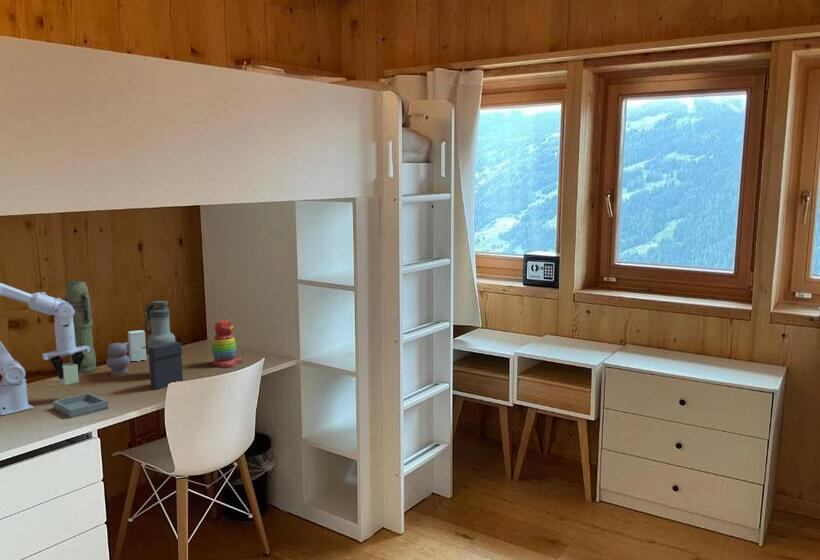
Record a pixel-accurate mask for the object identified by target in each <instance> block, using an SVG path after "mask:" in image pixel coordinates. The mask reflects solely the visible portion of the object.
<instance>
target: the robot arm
mask: <svg viewBox="0 0 820 560" xmlns="http://www.w3.org/2000/svg"><path fill="white" fill-rule="evenodd" d="M0 296H2V297H6V298H9V299H12V300H16V301H19V302H22V303H24V304H25V303H26V304H27V305H28V307H29V309H31V310H33V311H37V312H40V313H43V314H46V315H48V316H51V315H52V316H54V335H55V344H56V345H55V346H56V350H52V351H49V352H44V353H42V360H44V361H48V360H49V361H50V363H51V364H52V365H53V367H54V369H55V371H56V373H57V374H56V375H57V377H58V379H59V378H60V379H63V370H62V364H64V363H63V362H64V360H63V359H62V357H66V356H70V355H71V356H72V360H73V363H75V364H77V365H78V376H79V375H80V374H79V370H80V366H81V363H82V361H83V359H84V354H83V352H90V346H80V347H76V344H75V332H74V323H73V315H74V313H75V310H74V308H73V306H72V305H71V304H69V303H68V302H66V300H64V299H61V298H60V297H53V296H50V295H47V293H46V292H44V291H41V292H38V291H37V292H36V291H35V292H34V293H29V292H26V291H24V290H22V289H18V288H17V287H13V286H10V285H8V284H5V283H2V282H0ZM0 376H2V379H1V380H0V416H4V415H5V416H6V415H10V414H13V413H17V412H22V411H27V410H30V409H34V406H33V405H31V404H29V397H28V388H27V387H28V386H27V379H26V378H25V377H26V370H25V368H24V367H23V366H22V364H21V363H20V362H19V361H18V360H17V359H14V358H13V357H12V355H11V354H10V353H9V351H8V349H7V348H6V347H5V345H4V344H3V343H2V341H1V340H0Z"/></svg>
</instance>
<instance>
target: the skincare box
mask: <svg viewBox="0 0 820 560" xmlns="http://www.w3.org/2000/svg"><path fill="white" fill-rule="evenodd" d="M127 340H128V341H127V342H128V344H127V346H128V357H129V358H130V362H131V361H137V362H142V361H141V360H145V361H147V346H146V343H147V342H146V333H145V331H144V330H143V329H139V330H131V331H130V330H129V331H127Z"/></svg>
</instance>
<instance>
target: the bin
mask: <svg viewBox="0 0 820 560" xmlns="http://www.w3.org/2000/svg"><path fill="white" fill-rule="evenodd" d="M52 404H53V409H54V410H55V409H57V410H58V411H57V410H56V411H57V412H59V411H60V412H59V413H61V412H62V413H61V414H63V413H64V414H63V415H65V416H67V417H68V416H69V418H70V417H71V418H70V419H73V418H77V417H80V416H84V415H85V416H86V415H88V414H91V413H95V412H100V411H104V410H107V409H109V401H108V400H107V399H105V398H103V397H100V396H97V395H95V394H93V393H91V392H86V393H82V394H79V395H74V396H69V397H66V398H61V399H57V400H53V403H52ZM76 416H77V417H76ZM72 417H73V418H72Z"/></svg>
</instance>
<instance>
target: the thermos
mask: <svg viewBox="0 0 820 560" xmlns="http://www.w3.org/2000/svg"><path fill="white" fill-rule="evenodd" d="M65 288H66V289H65V297H64V298H65V300H64V301H66V302H68V303H69V304H71V305H72V306H73V308H74V310H75V313H74V315H73V323H74V332H75V344H76V347H80V346H90V352H83V354H84V359H83V361H82V363H81V366H80V370H79V373H81V374H85V373H84V372H88V373H91V372H90V371H92V372H94V371H93V370H95V369H96V370H97V366H96V365H97V364H96V363H97V357H96V351H95V349H94V340H93V339H94V338H93V328H92V327H93V312H92V303H91V302H92V300H91V296H90V294H89V288H88V286H87V283H86V281H84V280H81V279H80V280H79V279H78V280H71V281H69V282H67V285H66V287H65ZM71 362H72V363H73V360H72V356H71V355H69V363H71ZM96 370H95V371H96Z"/></svg>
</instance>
